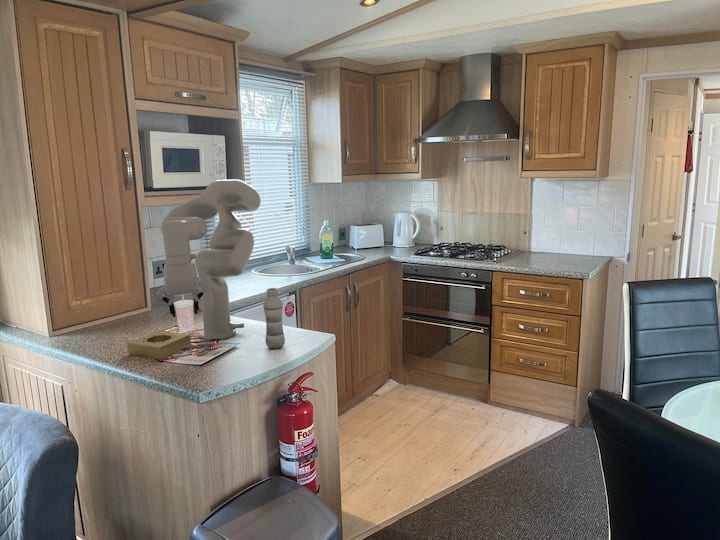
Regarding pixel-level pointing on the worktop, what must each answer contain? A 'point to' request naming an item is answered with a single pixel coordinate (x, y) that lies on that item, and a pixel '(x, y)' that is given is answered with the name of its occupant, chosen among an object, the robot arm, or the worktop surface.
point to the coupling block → (159, 344)
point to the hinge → (190, 297)
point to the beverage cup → (185, 314)
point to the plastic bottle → (273, 319)
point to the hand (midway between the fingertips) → (184, 313)
